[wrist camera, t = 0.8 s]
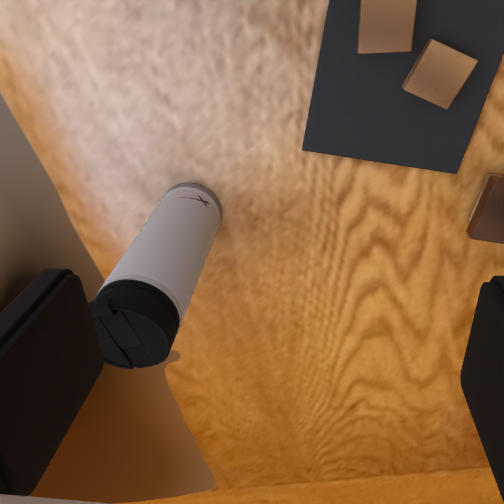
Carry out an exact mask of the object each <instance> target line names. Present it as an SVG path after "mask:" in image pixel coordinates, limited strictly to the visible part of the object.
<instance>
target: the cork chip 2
mask: <svg viewBox="0 0 504 504" xmlns="http://www.w3.org/2000/svg"><path fill="white" fill-rule="evenodd" d="M477 62H478V60H476V59H474V58H472V57H469V56H467V55H465V54H463V53H461V52H459V51H457V50H455V49H453V48H451V47H448V46H446V45H444V44H442V43H440V42H438V41H436V40H434V39H432V38H429V39H428V40H427V42H426V44H425V46H424V47H423V49H422V51H421V53H420V54H419V56H418V58H417V60H416V62H415V63H414V65H413V67H412V69H411V70H410V72H409V74H408V76H407V78H406V79H405V81H404V83H403V85H402V88H403V89H404V90H405V91H407V92H409V93H412V94H414V95H416V96H418V97H420V98H423V99H425V100H427V101H429V102H431V103H433V104H436V105H438V106H440V107H442V108H444V109H448V108H449V106H450V105H451V103H452V101H453V100H454V98H455V97H456V95H457V94H458V92H459V90H460V89H461V87H462V86H463V84H464V83H465V81H466V79H467V78H468V76H469V75H470V73H471V72H472V70H473V69H474V67H475V65H476V64H477Z"/></svg>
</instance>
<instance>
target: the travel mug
mask: <svg viewBox="0 0 504 504" xmlns="http://www.w3.org/2000/svg"><path fill="white" fill-rule="evenodd" d="M221 218H222V209H221V206H220V203H219V201H218V199H217V198H216V197H215V195H214V194H213V193H212V192H211V191H209V190H208V189H206V188H205V187H203V186H200V185H198V184H193V183H183V184H179V185H176V186H174V187H172V188H171V189H170V190H169V191H168V192H167V193H166V194H165V196H164V197H163V199H162V200H161V201H160V203H159V204H158V206H157V207H156V209H155V210H154V212H153V213H152V214H151V216H150V217H149V219H148V220H147V222H146V223H145V225H144V226H143V227H142V229H141V230H140V232H139V233H138V235H137V236H136V238H135V239H134V241H133V242H132V243H131V245H130V246H129V248H128V249H127V251H126V252H125V254H124V255H123V256H122V258H121V259H120V261H119V262H118V264H117V265H116V267H115V268H114V269H113V271H112V272H111V274H110V275H109V277H108V278H107V280H106V281H105V283H104V284H103V286H102V287H101V288H100V290H99V292H98V293H97V295H96V298H95V299H94V300H93V301H91V302H90V303H88V307H89V310H90V313H91V317H92V320H93V323H94V327H95V330H96V333H97V336H98V340H99V343H100V346H101V350H102V353H103V357H104V363H106V364H109V365H111V366H115V367H118V368H123V369H133V367H137V368H143V367H149V366H153V365H157V364H159V363H161V362H163V361H165V359H166V358H167V357H168V355H169V352H170V349H171V347H172V344H173V342H174V339H175V337H176V334H177V333H178V331H179V328H180V326H181V323H182V321H183V318H184V316H185V313H186V310H187V308H188V305H189V303H190V300H191V297H192V295H193V292H194V290H195V287H196V284H197V282H198V279H199V277H200V274H201V271H202V269H203V266H204V264H205V261H206V258H207V256H208V253H209V251H210V248H211V246H212V243H213V240H214V238H215V235H216V233H217V230H218V227H219V225H220V222H221Z"/></svg>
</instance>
